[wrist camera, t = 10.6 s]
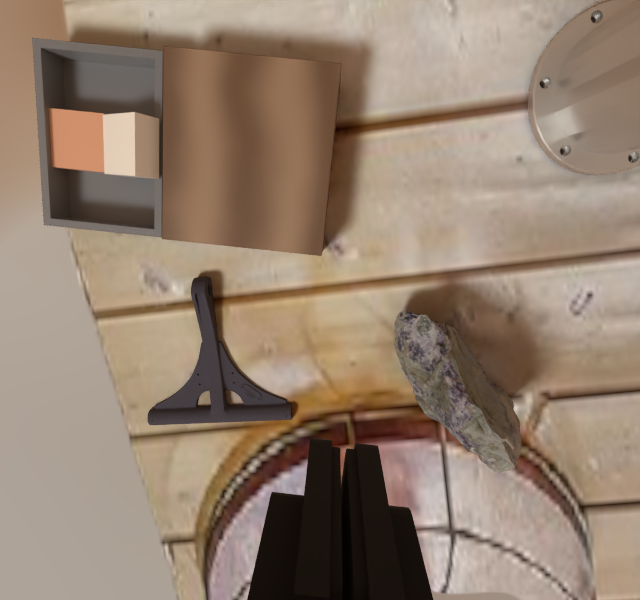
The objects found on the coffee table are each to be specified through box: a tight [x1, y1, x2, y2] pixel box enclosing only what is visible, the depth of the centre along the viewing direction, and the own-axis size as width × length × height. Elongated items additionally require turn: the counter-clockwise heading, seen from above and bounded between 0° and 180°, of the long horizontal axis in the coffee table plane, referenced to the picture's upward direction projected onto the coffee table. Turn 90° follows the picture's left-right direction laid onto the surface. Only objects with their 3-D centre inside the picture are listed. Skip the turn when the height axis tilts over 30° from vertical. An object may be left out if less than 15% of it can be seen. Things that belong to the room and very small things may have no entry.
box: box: [32, 38, 163, 237], centre depth 32 cm, size 10×14×3 cm
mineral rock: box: [395, 310, 521, 472], centre depth 33 cm, size 13×11×10 cm
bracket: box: [148, 277, 293, 425], centre depth 37 cm, size 14×15×3 cm
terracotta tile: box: [49, 108, 106, 173], centre depth 32 cm, size 4×4×2 cm
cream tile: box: [103, 112, 159, 179], centre depth 31 cm, size 4×4×2 cm
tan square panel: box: [162, 46, 341, 256], centre depth 32 cm, size 13×14×4 cm
